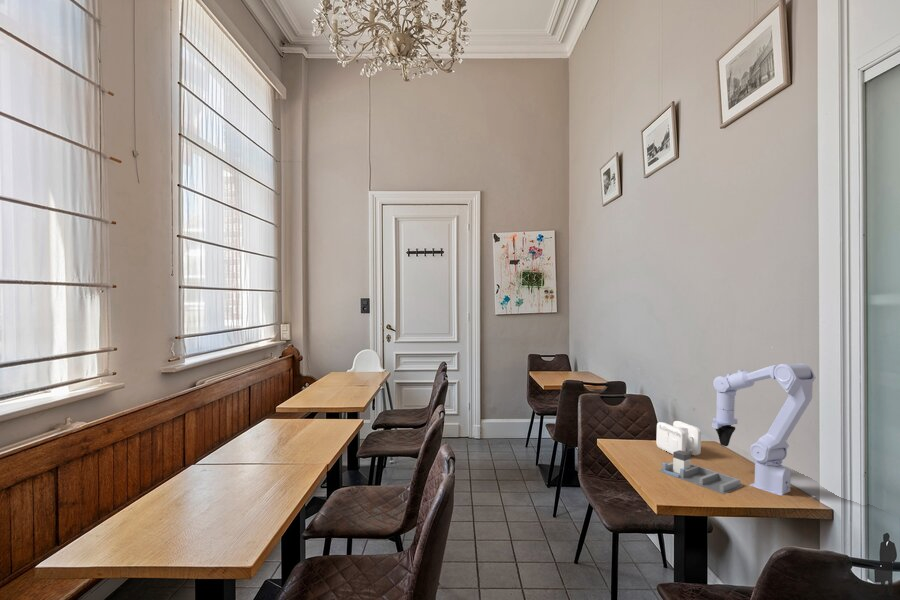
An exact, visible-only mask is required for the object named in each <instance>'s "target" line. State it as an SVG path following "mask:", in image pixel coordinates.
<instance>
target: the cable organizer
mask: <svg viewBox="0 0 900 600" xmlns="http://www.w3.org/2000/svg"><path fill="white" fill-rule="evenodd" d="M656 446H657V447H658V449H660V450H661V449H662V450H661V451H663V450H665V451H667V452H666V453H669V454H671V455H672V454H673V452H675V451H679V450H681V451H684V452H687V453H690V455H691V454H692V455H691V456H693V455H695V456H699V455H700V454H701V453H702V452H701V451H702V431H701V429H700V428H699V427H697V426H695V425H691V424H689V423H687V422H683V421H680V420H675V421H673V423H672V425H671V424H669V423H666V422H664V421H663V422H662V421H661V422H660V421H659V422H657V423H656ZM665 451H664V452H665Z"/></svg>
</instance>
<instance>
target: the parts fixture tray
mask: <svg viewBox="0 0 900 600" xmlns="http://www.w3.org/2000/svg"><path fill="white" fill-rule="evenodd" d="M657 471H658V472H660V473H663V474H667V475H669V476H671V477H674V478H676V479H680V480H682V481H684V482H688V483H690V484H693V485H696V486H699V487H701V488H705V489H707V490H711V491H713V492H716V493H719V494H722V495H726V494H728V493H730V492H732V491H735V490H737V489H740V488H742V487H744V485H742V484H741V479H740V478H737V477H734V476H730V475H727V474H724V473H722V472H718V471H714V470H711V469H709V468H706V467H702V466H699V465H697V464H693V463H691V462H690V468H688V469H683V468H682V469H680V473H677V472H674V471H673V461H671V462H669V463H667V462H662V463H661V469H659V470H657Z"/></svg>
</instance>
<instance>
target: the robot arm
mask: <svg viewBox="0 0 900 600" xmlns="http://www.w3.org/2000/svg"><path fill="white" fill-rule="evenodd" d="M769 379H772V380H776V381H777V382H778V385H780V387H782V389H783V390H784V391H785V392H786V393H787V395H788V396H787V398H786V400H785V401H784V404H782V406H781V409H780V410H779V412H778V413H777V415H776V417H775V419H774V420H773V422H772V424H771V425H770V427H769V429H768V430H767V433H765V434H763V436H760V437H759V438H758V440H757V441H756V442H754V443H752V444H751V446H750V448H749V451H750V456H751V457H752V459H753V461H754V482H753V483H750V484H749V487H753V488H757V489H759V490H762V491H766V492H769V493H771V494H774V495H778V496H783V495H785V494H788V493H789V492H790V493H791V491H792V490H791V479H792V478H791V475H792V474H791V469H790V468H789V467H786V466H784V465H783V460H784V459H786V458H787V456H788V448H789V446H790V445H789V443H788V442H787V440H788V439H789V437H790V436H791V434H792V432H793V431H794V429H795V428H796V426H797V424H798V423H799V421H800V419H801V418H802V416H803V414H804V413H805V411H806V410H807V408H808V406H809V404H810V403H811V402H812V399H813V387H814V386H813V383H814V382H815V379H816V376H815V373H814V372H813V369H812V368H811V367H810V365H808V364H806V363H803V362H801V363H790V364H788V363H787V364H786V363H780V364H775V365H770V366H766V367H763V368H760V369H758V370H755V371H751V372H750V371H748V370H744V369H738V370H737V372H735V373H727V374H726V376H725V375H724V376H720V375H718V376H716V377H715V378H714V380H713V381H712V383H713V384H712V385H713V388H714V389H715V391H716V408H715V409H716V411H715V412H716V413H715V415H716V416H715V417H714V418H712V421H713V422H711V428H712V429H714V430H715V431H716V433H717V435H718V439H719V444H720V445H721V446H724V447H728V446H729V444H730V442H731V437H732V435H733V433H734V432H735V431H736V426H734V425H738V418H735V403H736V402H735V401H736V400H735V399H736V398H735V397H736V395H737V391H739V390H741V389H742V390H743V389H746V388H750V387H753V386H754V385H755V382H758V381H764V380H769Z"/></svg>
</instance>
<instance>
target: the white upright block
mask: <svg viewBox="0 0 900 600" xmlns="http://www.w3.org/2000/svg"><path fill="white" fill-rule="evenodd" d="M672 457H673V459H672V462H673V471H674V472H677V473H680V469H682V468H683V469H688V468H690V463H691V454H690V453H688V452H686V451H685V452H684V451H681V450H679V451H675V452H673V455H672Z"/></svg>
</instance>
